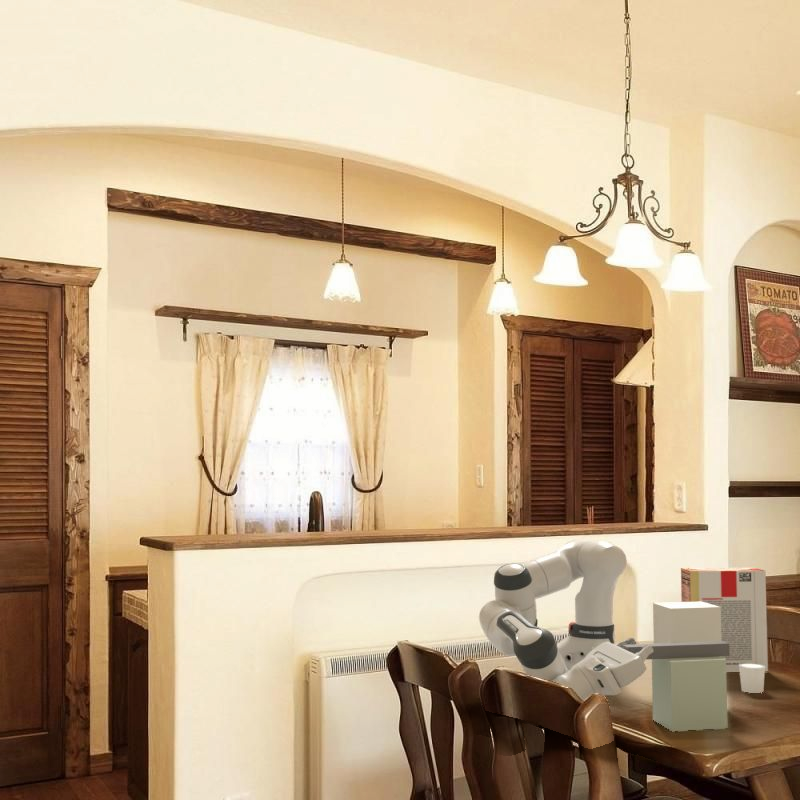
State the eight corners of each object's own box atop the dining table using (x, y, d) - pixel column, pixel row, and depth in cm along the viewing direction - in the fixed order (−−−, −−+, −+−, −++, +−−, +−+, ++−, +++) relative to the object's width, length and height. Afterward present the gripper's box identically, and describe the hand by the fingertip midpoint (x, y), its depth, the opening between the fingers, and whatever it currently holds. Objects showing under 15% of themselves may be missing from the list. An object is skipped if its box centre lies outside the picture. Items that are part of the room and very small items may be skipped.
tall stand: (672, 708, 243) (670, 608, 245) (654, 698, 253) (653, 602, 254) (722, 705, 246) (720, 607, 247) (703, 696, 255) (701, 601, 257)
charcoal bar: (627, 660, 224) (627, 647, 225) (622, 657, 227) (622, 644, 227) (729, 656, 229) (729, 643, 229) (723, 653, 232) (722, 641, 232)
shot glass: (763, 695, 256) (762, 669, 257) (736, 692, 260) (735, 666, 260) (768, 690, 262) (767, 664, 262) (742, 687, 266) (741, 661, 266)
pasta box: (756, 666, 292) (754, 567, 294) (767, 672, 284) (765, 570, 286) (682, 667, 291) (680, 568, 293) (692, 673, 283) (690, 571, 285)
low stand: (672, 731, 222) (670, 661, 223) (652, 720, 231) (651, 653, 232) (727, 728, 224) (726, 659, 225) (706, 717, 234) (704, 651, 235)
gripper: (584, 676, 234) (630, 646, 237) (619, 697, 214) (668, 663, 217) (572, 654, 234) (617, 624, 237) (605, 673, 214) (654, 639, 217)
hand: (642, 643), depth 227 cm, fingers open, 8 cm apart
